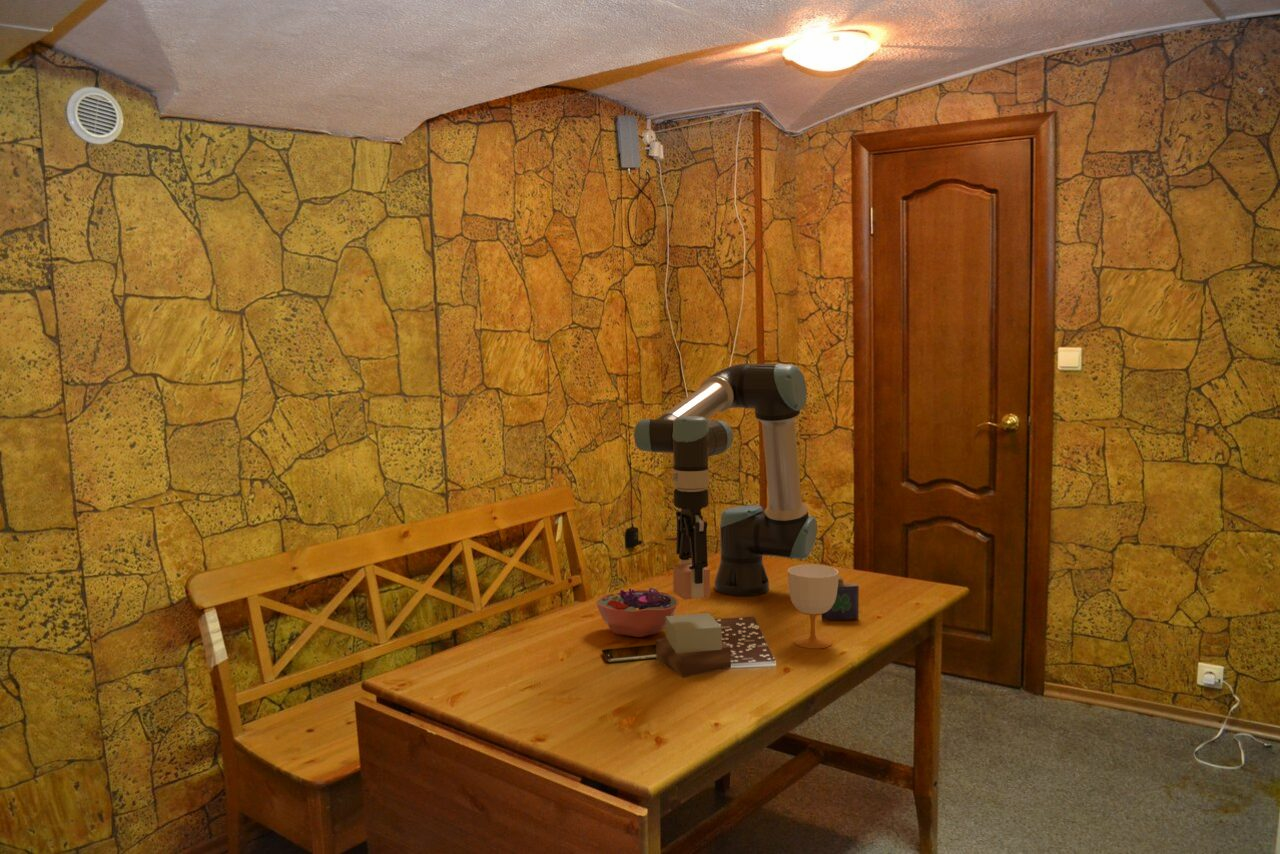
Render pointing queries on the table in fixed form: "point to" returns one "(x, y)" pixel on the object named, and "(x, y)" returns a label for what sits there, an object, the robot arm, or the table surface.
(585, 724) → the table surface
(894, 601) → the table surface
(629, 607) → the cell model
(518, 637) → the table surface
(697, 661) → the tower base
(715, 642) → the tower top
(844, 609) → the flask
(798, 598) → the cup
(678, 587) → the block
